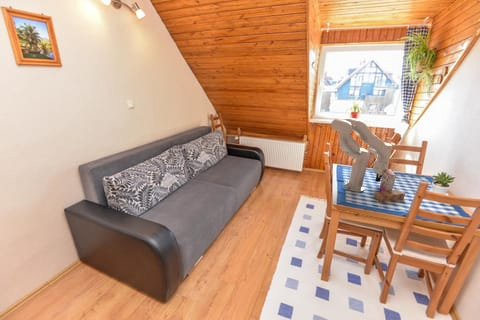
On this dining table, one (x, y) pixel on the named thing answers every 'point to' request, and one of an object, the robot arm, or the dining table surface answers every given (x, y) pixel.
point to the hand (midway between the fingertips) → (377, 181)
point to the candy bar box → (387, 180)
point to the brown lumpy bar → (389, 195)
